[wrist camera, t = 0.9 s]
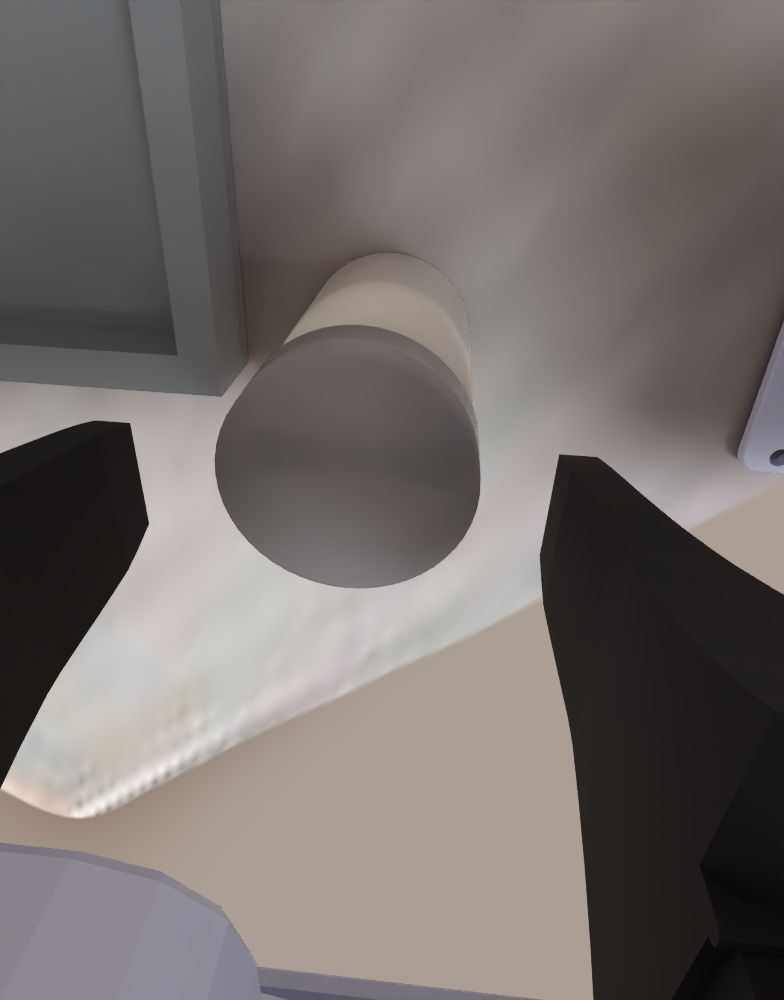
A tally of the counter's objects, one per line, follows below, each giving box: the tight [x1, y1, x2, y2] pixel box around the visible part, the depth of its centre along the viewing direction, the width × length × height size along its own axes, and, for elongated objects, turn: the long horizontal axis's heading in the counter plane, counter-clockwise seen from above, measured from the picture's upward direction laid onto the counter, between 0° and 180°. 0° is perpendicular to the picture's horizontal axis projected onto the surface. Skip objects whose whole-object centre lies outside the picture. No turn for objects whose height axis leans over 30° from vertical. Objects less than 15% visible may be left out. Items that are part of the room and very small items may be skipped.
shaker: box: [215, 253, 480, 588], centre depth 15 cm, size 5×5×8 cm
